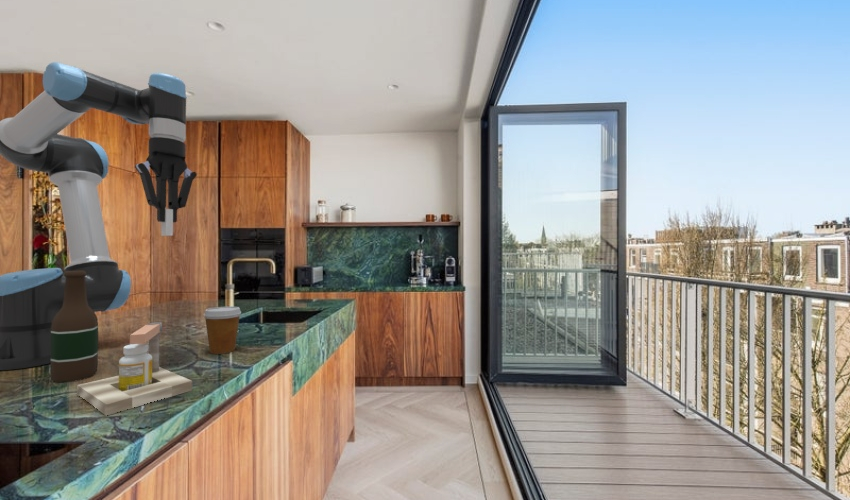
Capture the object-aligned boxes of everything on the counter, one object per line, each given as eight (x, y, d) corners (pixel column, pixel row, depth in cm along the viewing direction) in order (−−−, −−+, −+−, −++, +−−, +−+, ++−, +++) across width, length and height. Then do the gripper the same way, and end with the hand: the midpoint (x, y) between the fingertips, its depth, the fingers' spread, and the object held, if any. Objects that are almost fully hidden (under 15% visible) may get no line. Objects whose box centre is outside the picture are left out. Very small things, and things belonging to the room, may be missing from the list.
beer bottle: (100, 376, 84) (100, 271, 84) (51, 385, 78) (51, 272, 78) (95, 368, 89) (96, 269, 89) (49, 376, 83) (50, 270, 83)
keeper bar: (148, 330, 82) (148, 322, 82) (163, 329, 84) (163, 321, 84) (128, 344, 71) (128, 335, 71) (146, 343, 72) (146, 334, 72)
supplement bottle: (133, 399, 72) (133, 350, 72) (111, 396, 73) (111, 348, 73) (158, 388, 77) (158, 343, 77) (138, 386, 78) (138, 341, 78)
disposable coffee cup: (224, 356, 100) (225, 312, 100) (194, 354, 102) (195, 310, 102) (248, 347, 109) (248, 307, 109) (220, 345, 111) (220, 305, 111)
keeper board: (77, 395, 73) (77, 342, 73) (158, 375, 85) (158, 329, 85) (106, 415, 65) (106, 356, 65) (192, 390, 76) (192, 339, 76)
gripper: (188, 148, 99) (188, 236, 99) (129, 135, 88) (128, 234, 88) (202, 144, 95) (202, 236, 95) (142, 130, 84) (142, 234, 84)
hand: (166, 235), depth 92 cm, fingers closed
